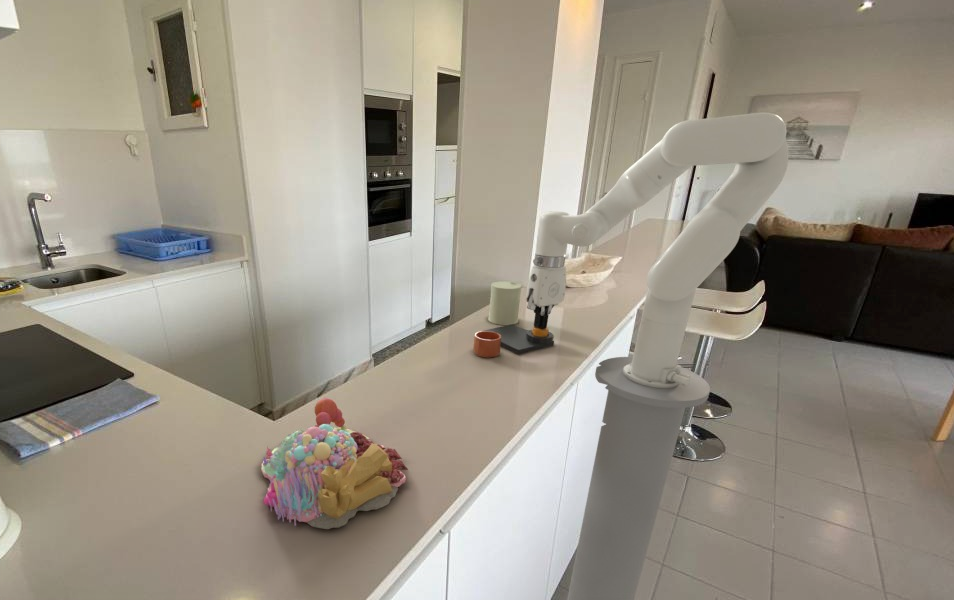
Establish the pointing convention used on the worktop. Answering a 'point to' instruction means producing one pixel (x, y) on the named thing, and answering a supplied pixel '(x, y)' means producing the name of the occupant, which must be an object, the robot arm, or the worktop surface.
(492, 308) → the can
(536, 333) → the button
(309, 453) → the dessert platter
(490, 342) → the bowl
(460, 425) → the worktop surface
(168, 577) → the worktop surface
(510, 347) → the scale
